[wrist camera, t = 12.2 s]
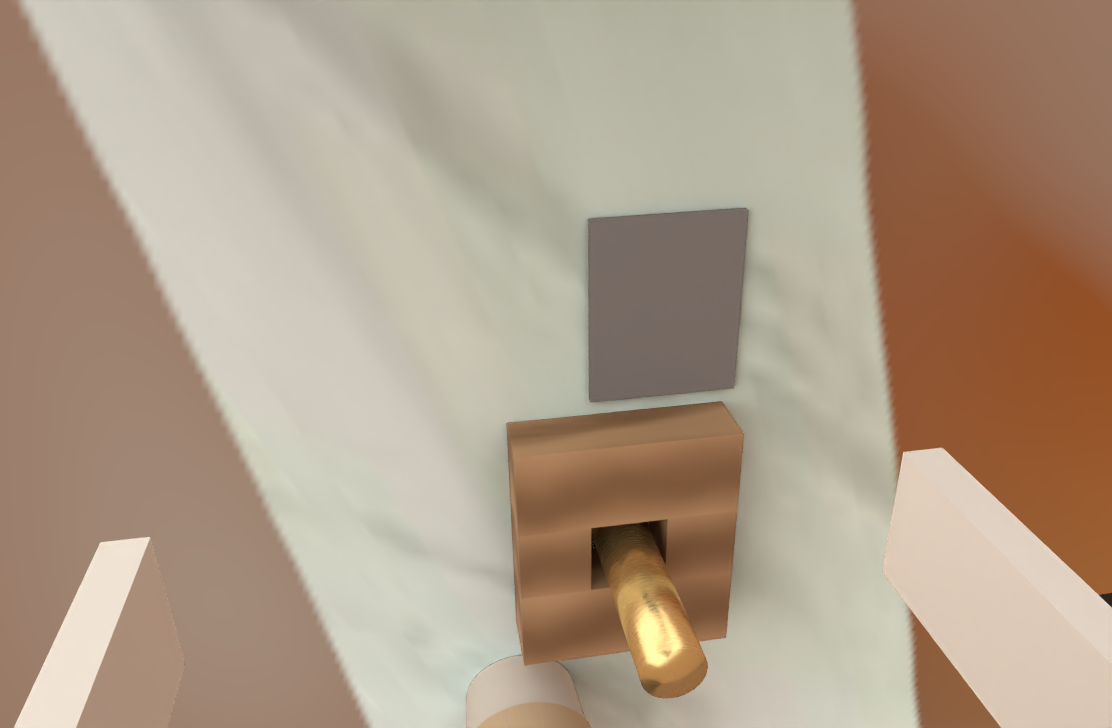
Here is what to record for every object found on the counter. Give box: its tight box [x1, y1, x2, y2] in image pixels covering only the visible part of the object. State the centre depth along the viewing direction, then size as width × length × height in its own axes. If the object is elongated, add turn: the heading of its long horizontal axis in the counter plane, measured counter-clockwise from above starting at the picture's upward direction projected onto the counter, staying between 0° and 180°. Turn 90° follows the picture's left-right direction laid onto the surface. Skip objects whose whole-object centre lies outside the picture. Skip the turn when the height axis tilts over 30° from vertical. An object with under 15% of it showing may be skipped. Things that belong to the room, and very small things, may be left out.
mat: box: [589, 208, 748, 402], centre depth 46 cm, size 10×8×1 cm
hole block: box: [507, 402, 744, 666], centre depth 50 cm, size 14×12×4 cm
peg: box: [591, 522, 708, 698], centre depth 46 cm, size 3×3×12 cm
